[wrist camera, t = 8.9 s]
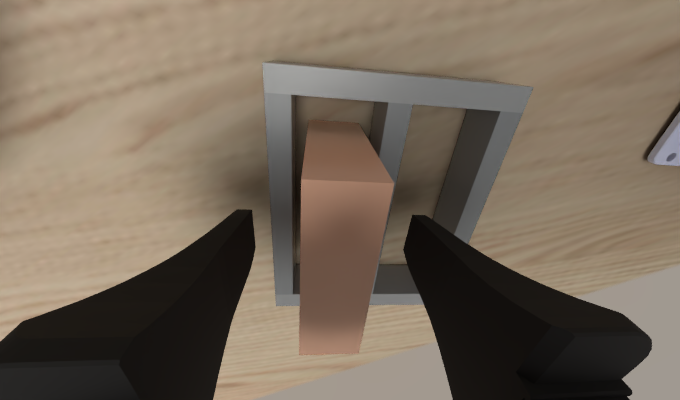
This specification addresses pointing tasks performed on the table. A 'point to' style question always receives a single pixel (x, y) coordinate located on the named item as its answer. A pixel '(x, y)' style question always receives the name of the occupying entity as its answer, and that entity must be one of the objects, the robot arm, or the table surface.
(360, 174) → the brick block
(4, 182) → the table surface
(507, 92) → the dish rack
